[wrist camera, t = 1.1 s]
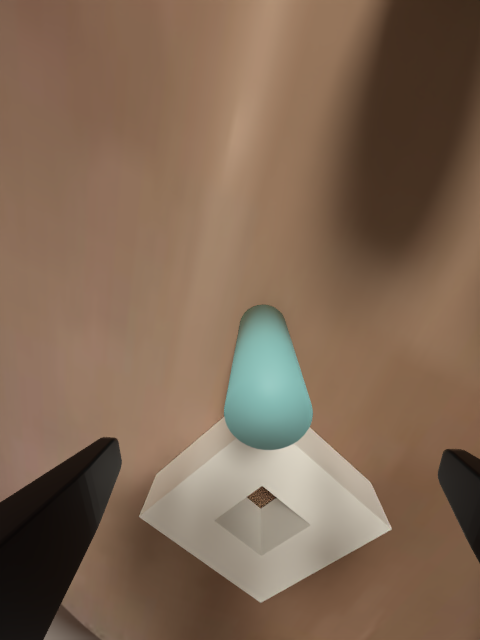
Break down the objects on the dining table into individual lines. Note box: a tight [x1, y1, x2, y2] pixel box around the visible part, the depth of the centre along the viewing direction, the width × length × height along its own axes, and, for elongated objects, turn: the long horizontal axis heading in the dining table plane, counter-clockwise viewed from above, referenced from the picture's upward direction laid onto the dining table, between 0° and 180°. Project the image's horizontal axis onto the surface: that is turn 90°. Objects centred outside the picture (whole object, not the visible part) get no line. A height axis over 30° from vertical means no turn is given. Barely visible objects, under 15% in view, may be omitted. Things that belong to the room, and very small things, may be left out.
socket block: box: [139, 417, 392, 603], centre depth 20 cm, size 12×12×4 cm
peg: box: [224, 305, 313, 450], centre depth 14 cm, size 3×3×9 cm
